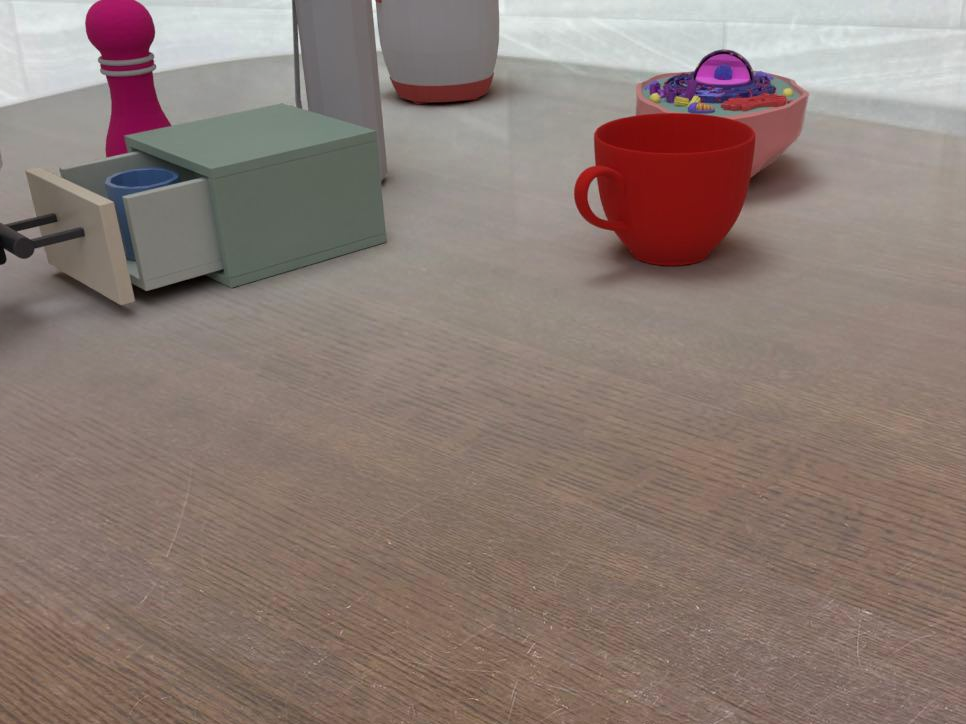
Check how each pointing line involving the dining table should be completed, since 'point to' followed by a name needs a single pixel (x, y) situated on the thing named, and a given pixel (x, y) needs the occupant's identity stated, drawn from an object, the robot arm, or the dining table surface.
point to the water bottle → (339, 63)
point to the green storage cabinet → (279, 186)
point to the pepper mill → (126, 68)
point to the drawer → (95, 230)
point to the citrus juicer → (439, 47)
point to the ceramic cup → (669, 183)
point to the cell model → (732, 100)
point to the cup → (132, 184)
